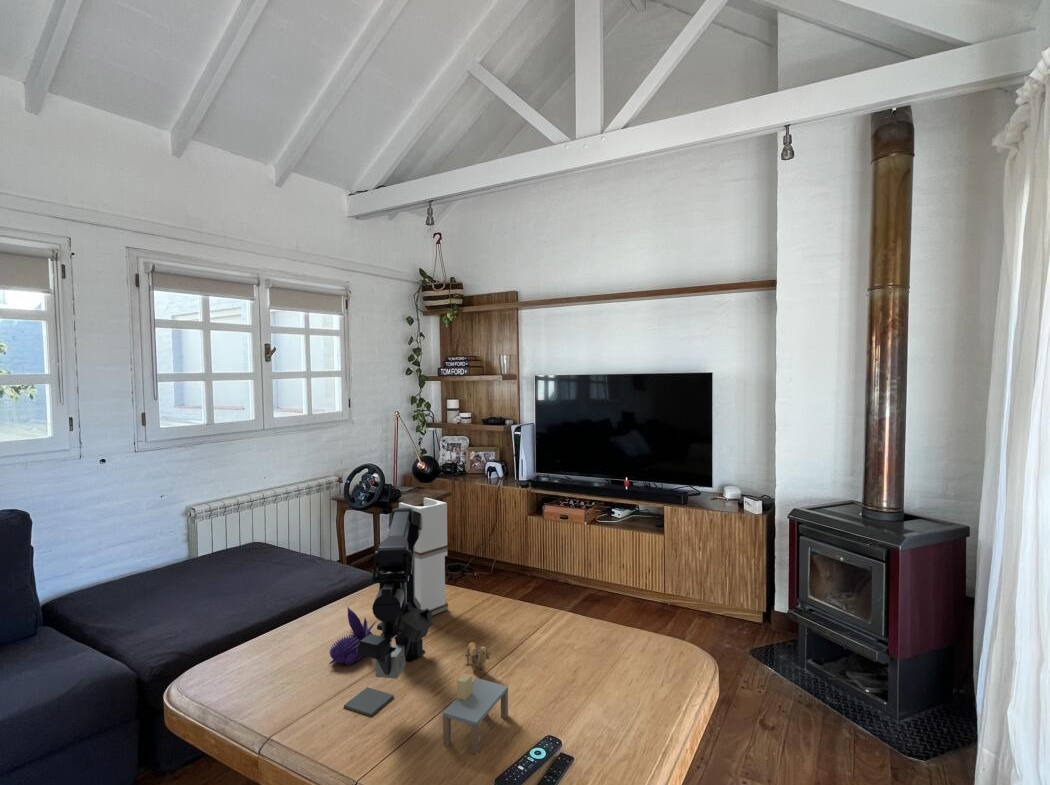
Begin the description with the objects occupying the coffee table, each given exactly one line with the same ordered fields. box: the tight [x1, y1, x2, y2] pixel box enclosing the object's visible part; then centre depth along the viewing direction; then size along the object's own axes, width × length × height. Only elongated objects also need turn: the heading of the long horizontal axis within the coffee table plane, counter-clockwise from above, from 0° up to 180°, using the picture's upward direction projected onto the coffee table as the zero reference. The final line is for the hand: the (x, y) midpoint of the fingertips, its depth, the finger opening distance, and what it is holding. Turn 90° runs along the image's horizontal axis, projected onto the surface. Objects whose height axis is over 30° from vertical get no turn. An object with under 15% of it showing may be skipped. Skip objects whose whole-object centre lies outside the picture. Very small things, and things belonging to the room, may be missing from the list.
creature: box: [328, 606, 379, 666], centre depth 151 cm, size 9×18×12 cm, turn 149°
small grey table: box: [442, 672, 509, 756], centre depth 119 cm, size 8×14×11 cm, turn 155°
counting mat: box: [343, 686, 395, 717], centre depth 129 cm, size 8×8×1 cm
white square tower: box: [398, 497, 449, 616], centre depth 179 cm, size 11×11×35 cm
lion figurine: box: [464, 641, 492, 675], centre depth 144 cm, size 12×4×7 cm, turn 32°
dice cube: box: [374, 643, 406, 680], centre depth 125 cm, size 5×5×5 cm
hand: (394, 668), depth 125 cm, fingers closed on dice cube, 5 cm apart
